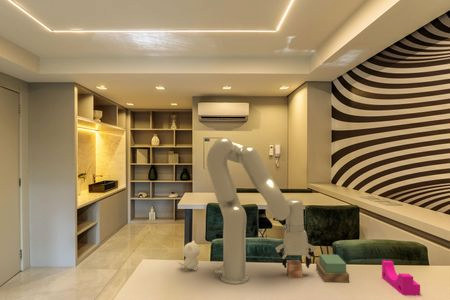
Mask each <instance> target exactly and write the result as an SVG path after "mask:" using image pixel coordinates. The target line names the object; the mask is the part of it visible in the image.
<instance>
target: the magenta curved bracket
mask: <svg viewBox="0 0 450 300" xmlns="http://www.w3.org/2000/svg"><path fill="white" fill-rule="evenodd" d="M381 279H383V281H384V282H386V283H387V284H388V285H389V286H391V287H392V288H394V290H396V291H397V292H398V293H400V294H401V295H403V296H421V284H420V283H418V282H417V281H415V279H414V276H413V275H412V274H411V273H406V272H405V273H404V272H403V273H400V272H399V273H398V274H397V272H396V269H395V264H394V261H393V260H381Z"/></svg>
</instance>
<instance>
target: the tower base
mask: <svg viewBox="0 0 450 300" xmlns="http://www.w3.org/2000/svg"><path fill="white" fill-rule="evenodd" d="M315 263H316V265H315V266H316V268H315V271H316V272H317V271H318V272H317V274H318V275H319V277H321V279H323V280H322V281H323V282H324V283H343V284H344V283H348V284H349V283H350V273H348V271H347V270H346V273H326V272H325V270H324V269H323V268H322V266H321V265H320V263H319V261H316V262H315Z"/></svg>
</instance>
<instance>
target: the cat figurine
mask: <svg viewBox="0 0 450 300" xmlns="http://www.w3.org/2000/svg"><path fill="white" fill-rule="evenodd" d="M200 253H201V249H200V246H199V245H198V244H197V243H196V242H195V240H192V241H191V242H188V243H186V244H185V245H184V247H183V248H182V254H183V256H184V257H185V259H184V261H183V263H182V262H181V261H179V260H177V261H176V262H177V263H178V264H179V265H180V266H182V267H184V268H187V269H188V270H194V271H198V268H199V266H198V265H199V258H198V257H199V255H200ZM196 267H198V268H196Z"/></svg>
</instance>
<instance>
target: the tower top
mask: <svg viewBox="0 0 450 300" xmlns="http://www.w3.org/2000/svg"><path fill="white" fill-rule="evenodd" d="M318 255H319V256H318V259H319V261H318V262H319V263H320V265H321V266H322V268H323V269H324V270H325V272H326V273H346V271H347V263H346V262H345V260H344V259H342V258H341V257H340V255H338V254H326V253H325V254H321V253H320V254H318Z"/></svg>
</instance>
